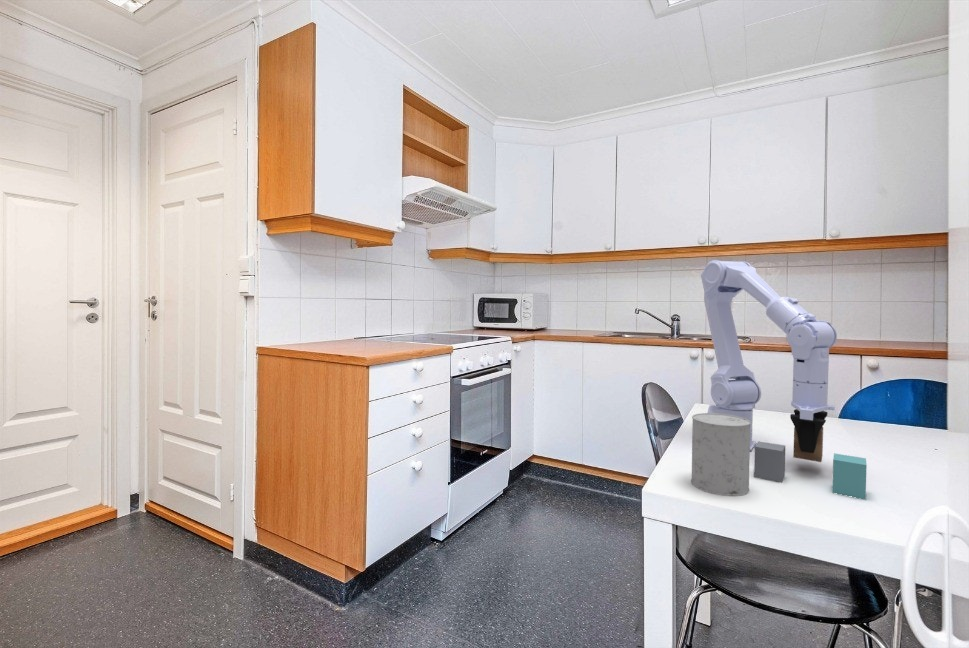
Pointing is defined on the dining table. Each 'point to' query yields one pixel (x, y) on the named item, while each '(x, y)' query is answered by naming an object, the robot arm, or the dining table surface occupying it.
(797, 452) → the walnut block
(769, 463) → the charcoal block
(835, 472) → the teal block
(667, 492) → the dining table surface
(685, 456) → the dining table surface
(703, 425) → the grey concrete cylinder
